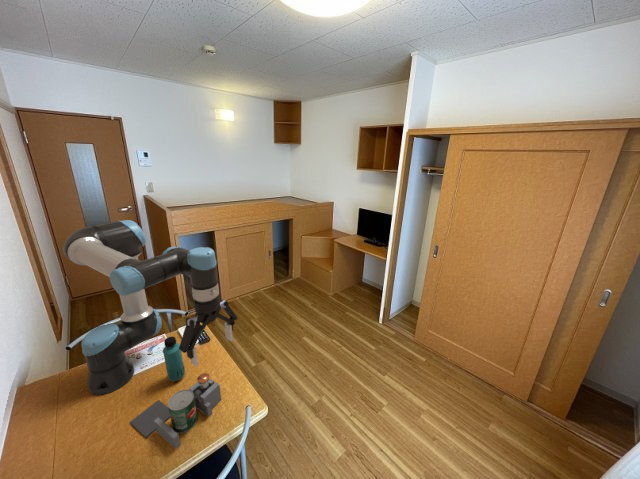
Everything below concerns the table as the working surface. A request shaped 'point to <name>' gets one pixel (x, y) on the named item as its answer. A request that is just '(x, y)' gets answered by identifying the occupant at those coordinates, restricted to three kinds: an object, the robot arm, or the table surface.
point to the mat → (150, 418)
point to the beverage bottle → (173, 359)
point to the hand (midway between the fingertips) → (213, 351)
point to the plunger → (203, 382)
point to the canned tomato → (182, 411)
